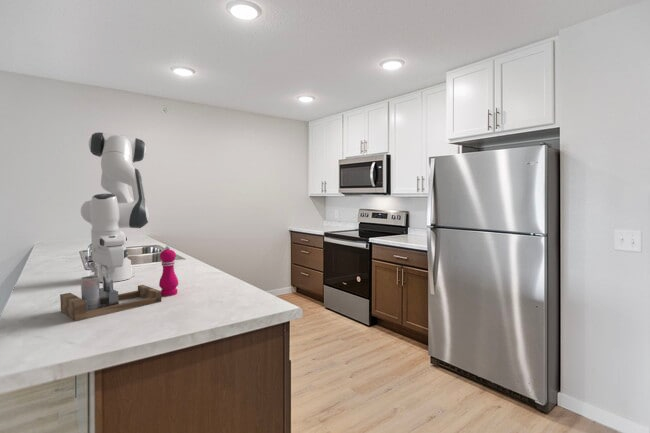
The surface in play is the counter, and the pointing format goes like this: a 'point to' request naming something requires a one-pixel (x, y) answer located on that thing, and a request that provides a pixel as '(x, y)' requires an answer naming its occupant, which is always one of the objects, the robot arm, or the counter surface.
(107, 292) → the press jaw
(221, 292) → the counter surface
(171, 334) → the counter surface
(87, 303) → the energy drink
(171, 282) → the pepper mill
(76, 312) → the press frame
